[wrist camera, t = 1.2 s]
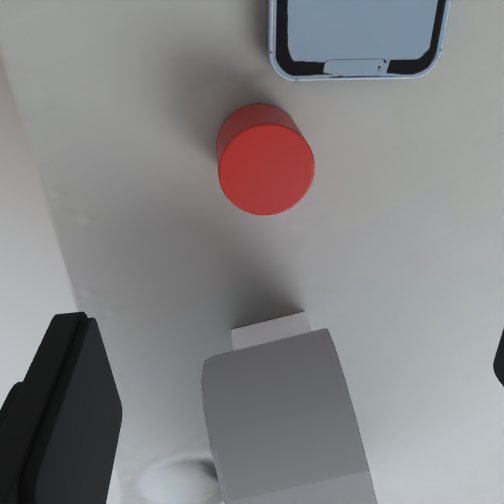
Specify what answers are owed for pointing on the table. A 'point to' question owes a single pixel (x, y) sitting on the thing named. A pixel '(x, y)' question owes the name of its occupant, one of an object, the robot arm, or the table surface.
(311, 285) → the table surface
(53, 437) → the robot arm
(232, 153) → the red cylinder
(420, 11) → the smartphone
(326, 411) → the alarm clock
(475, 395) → the table surface
